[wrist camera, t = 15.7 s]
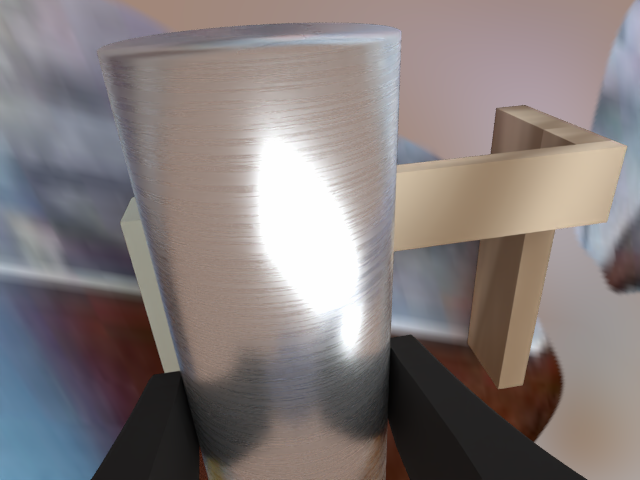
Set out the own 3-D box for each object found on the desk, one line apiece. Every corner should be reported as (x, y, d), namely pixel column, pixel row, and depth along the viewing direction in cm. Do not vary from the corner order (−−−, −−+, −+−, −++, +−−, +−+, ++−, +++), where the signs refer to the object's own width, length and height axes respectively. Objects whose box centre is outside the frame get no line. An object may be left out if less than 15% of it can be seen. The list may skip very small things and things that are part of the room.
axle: (98, 37, 8) (95, 76, 5) (329, 18, 10) (467, 36, 6) (219, 510, 15) (256, 673, 11) (344, 460, 16) (411, 592, 13)
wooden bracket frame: (525, 105, 18) (627, 146, 14) (489, 339, 24) (552, 425, 20) (325, 125, 18) (361, 177, 13) (338, 364, 23) (365, 461, 19)
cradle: (307, 166, 18) (321, 198, 15) (320, 343, 23) (333, 393, 20) (137, 184, 17) (119, 222, 15) (185, 365, 22) (178, 420, 19)
